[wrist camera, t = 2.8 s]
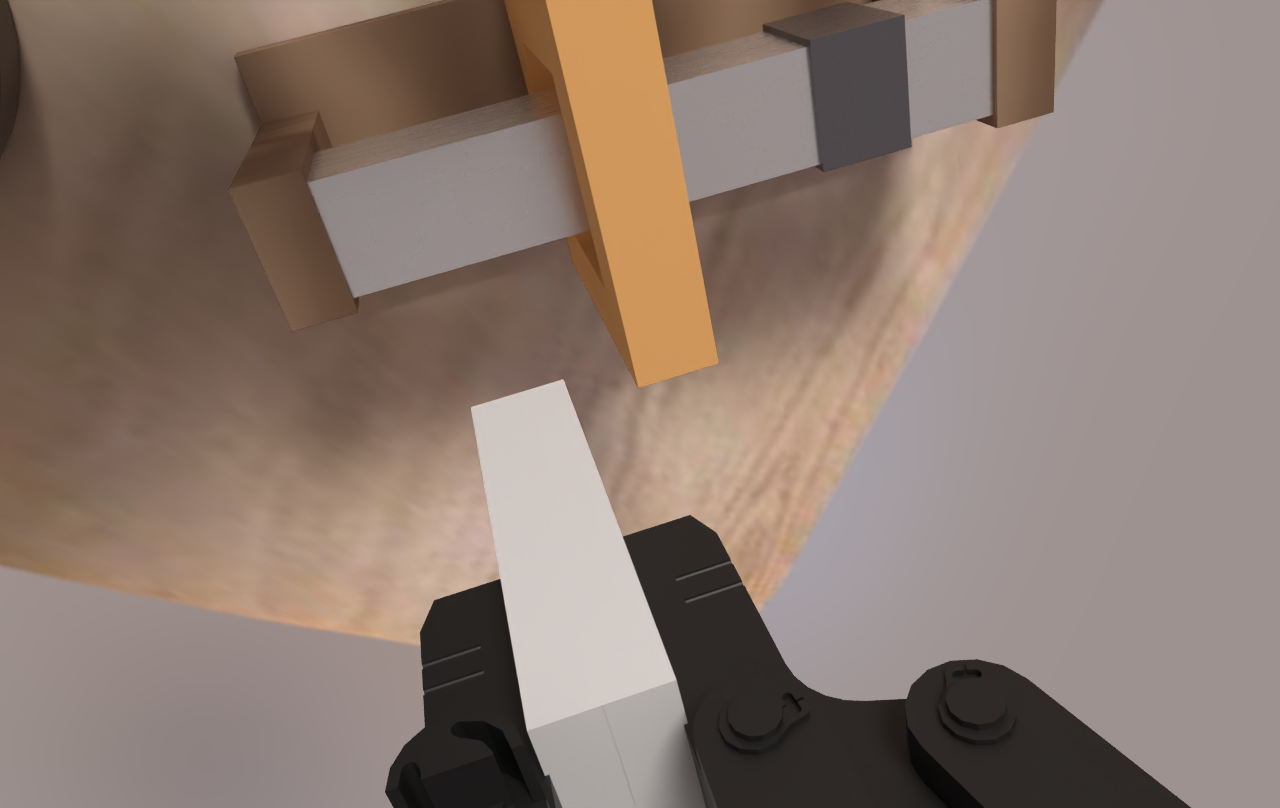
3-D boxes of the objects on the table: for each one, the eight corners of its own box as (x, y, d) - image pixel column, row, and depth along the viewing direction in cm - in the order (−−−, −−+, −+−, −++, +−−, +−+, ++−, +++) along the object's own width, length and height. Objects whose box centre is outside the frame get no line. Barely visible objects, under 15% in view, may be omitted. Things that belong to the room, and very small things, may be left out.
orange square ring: (572, 261, 37) (638, 387, 27) (493, -40, 31) (542, -11, 22) (632, 244, 37) (718, 363, 28) (565, -58, 31) (645, -38, 22)
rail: (343, 265, 31) (339, 311, 28) (296, 148, 29) (285, 183, 26) (947, 95, 33) (1011, 118, 30) (943, -25, 31) (1012, -15, 28)
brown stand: (334, 286, 37) (321, 396, 29) (237, 52, 32) (190, 105, 24) (914, 121, 40) (1051, 179, 31) (901, -117, 35) (1059, -120, 27)
